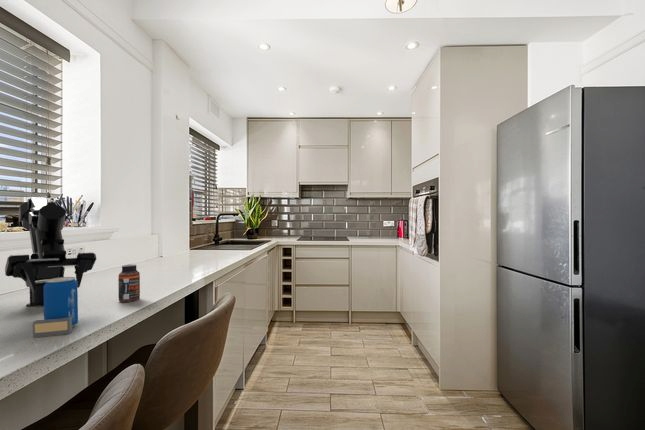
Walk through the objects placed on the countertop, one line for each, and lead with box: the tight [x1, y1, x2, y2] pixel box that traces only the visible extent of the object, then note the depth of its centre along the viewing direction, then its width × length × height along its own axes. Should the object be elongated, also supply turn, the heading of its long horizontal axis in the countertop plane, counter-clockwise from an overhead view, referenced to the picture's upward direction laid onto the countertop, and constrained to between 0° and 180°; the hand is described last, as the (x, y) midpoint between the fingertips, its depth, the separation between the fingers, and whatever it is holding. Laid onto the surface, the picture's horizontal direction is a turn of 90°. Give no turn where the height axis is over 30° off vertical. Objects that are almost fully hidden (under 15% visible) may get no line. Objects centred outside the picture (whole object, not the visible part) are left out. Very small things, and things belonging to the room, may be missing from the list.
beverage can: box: [43, 276, 79, 328], centre depth 80 cm, size 6×6×12 cm
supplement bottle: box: [117, 264, 141, 303], centre depth 105 cm, size 6×6×11 cm
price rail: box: [32, 317, 73, 338], centre depth 76 cm, size 7×1×4 cm, turn 107°
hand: (57, 288), depth 86 cm, fingers open, 9 cm apart
